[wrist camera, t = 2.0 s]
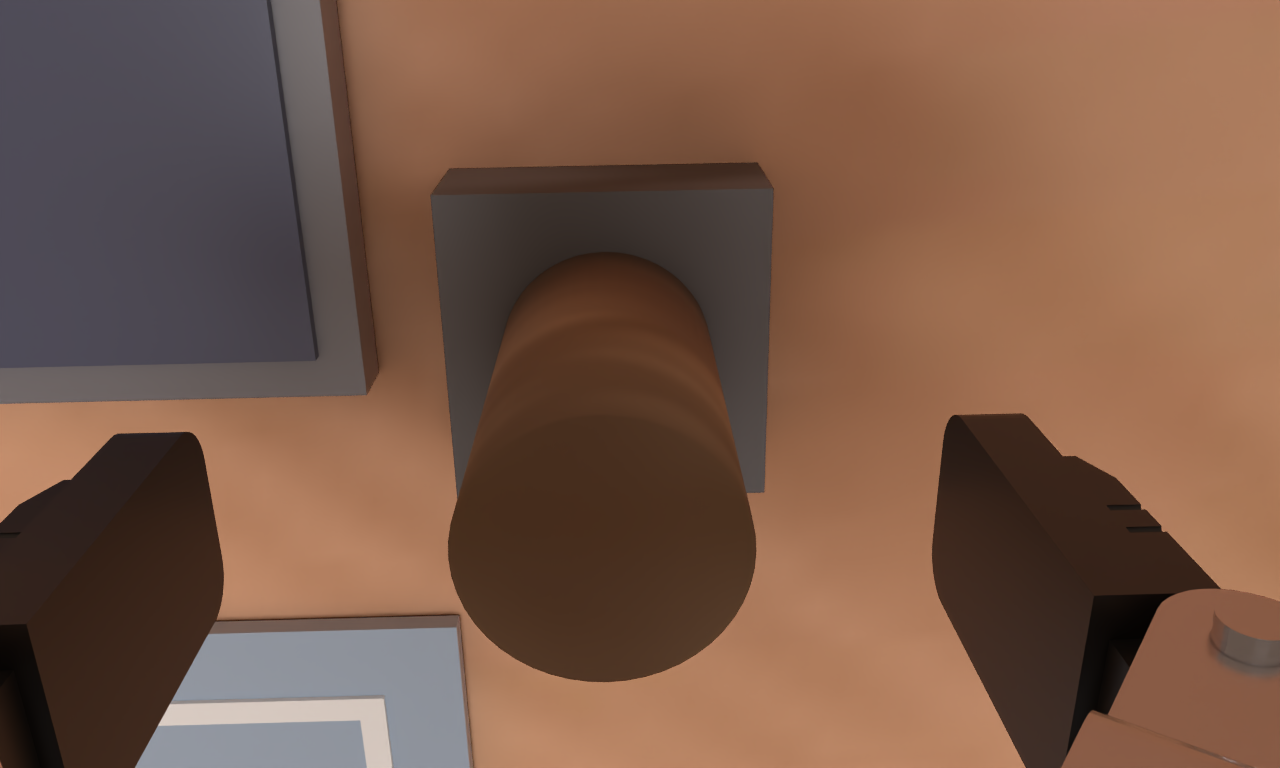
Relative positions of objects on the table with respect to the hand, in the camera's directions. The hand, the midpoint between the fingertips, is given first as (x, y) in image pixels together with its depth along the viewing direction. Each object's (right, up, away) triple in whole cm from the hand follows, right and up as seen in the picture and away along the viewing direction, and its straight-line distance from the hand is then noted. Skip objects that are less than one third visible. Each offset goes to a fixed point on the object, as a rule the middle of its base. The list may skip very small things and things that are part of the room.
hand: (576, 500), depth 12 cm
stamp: (0, +2, +7) cm, 7 cm away
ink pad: (-9, +5, +6) cm, 12 cm away
